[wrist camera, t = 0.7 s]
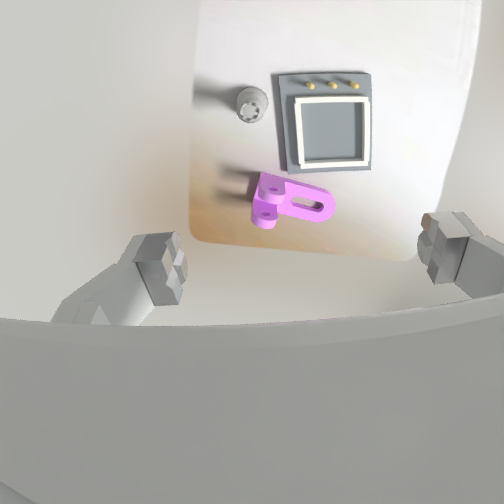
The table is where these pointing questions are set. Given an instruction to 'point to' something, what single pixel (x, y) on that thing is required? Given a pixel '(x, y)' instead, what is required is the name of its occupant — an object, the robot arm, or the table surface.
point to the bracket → (287, 201)
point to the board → (327, 121)
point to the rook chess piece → (251, 104)
